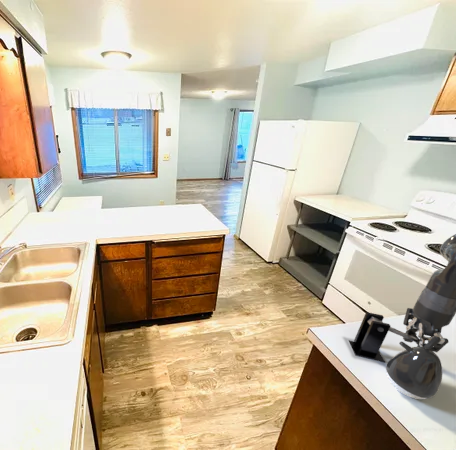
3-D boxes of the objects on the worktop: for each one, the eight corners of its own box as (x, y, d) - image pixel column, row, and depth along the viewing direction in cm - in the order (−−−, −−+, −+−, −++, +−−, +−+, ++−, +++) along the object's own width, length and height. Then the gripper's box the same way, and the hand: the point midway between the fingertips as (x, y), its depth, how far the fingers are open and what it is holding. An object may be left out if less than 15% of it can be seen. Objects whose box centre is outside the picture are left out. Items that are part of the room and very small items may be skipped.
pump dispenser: (381, 362, 76) (402, 328, 69) (428, 386, 69) (457, 351, 63) (377, 385, 69) (400, 351, 63) (429, 414, 63) (460, 379, 56)
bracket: (372, 344, 83) (386, 313, 78) (384, 364, 76) (401, 331, 71) (345, 338, 85) (357, 307, 80) (354, 357, 78) (368, 324, 73)
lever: (412, 338, 77) (417, 333, 76) (422, 350, 72) (428, 345, 71) (365, 318, 79) (370, 313, 78) (372, 329, 75) (377, 324, 74)
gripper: (475, 325, 62) (445, 371, 68) (435, 292, 74) (413, 334, 81) (438, 318, 64) (412, 363, 70) (405, 287, 77) (386, 328, 83)
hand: (412, 347), depth 75 cm, fingers closed on lever, 5 cm apart
